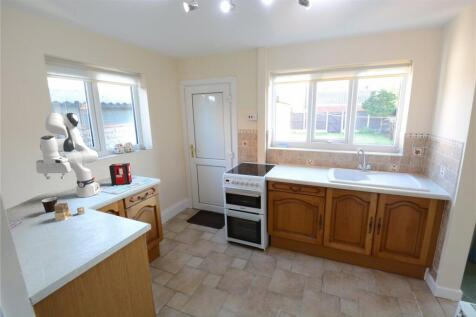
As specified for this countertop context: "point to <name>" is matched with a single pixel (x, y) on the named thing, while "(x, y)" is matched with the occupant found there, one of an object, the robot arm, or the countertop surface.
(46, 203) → the coffee mug
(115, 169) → the cleaning product box
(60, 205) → the walnut cube
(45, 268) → the countertop surface
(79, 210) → the maple dowel
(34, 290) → the countertop surface
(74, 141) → the robot arm
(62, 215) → the oak block
